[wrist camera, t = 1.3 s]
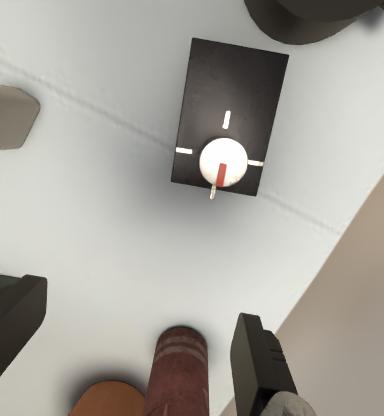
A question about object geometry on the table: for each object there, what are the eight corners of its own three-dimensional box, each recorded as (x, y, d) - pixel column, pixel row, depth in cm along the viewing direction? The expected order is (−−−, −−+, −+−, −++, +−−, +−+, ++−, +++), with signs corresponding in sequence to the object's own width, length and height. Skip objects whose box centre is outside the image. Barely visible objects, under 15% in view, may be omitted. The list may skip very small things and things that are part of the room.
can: (196, 316, 34) (193, 441, 20) (214, 359, 35) (222, 502, 22) (148, 331, 35) (114, 461, 21) (167, 372, 36) (148, 518, 23)
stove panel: (193, 46, 26) (192, 36, 23) (279, 62, 27) (290, 54, 24) (172, 185, 30) (168, 191, 27) (249, 198, 30) (254, 206, 27)
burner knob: (203, 132, 25) (203, 134, 21) (244, 139, 26) (253, 142, 21) (196, 173, 26) (195, 183, 22) (235, 180, 26) (242, 191, 22)
